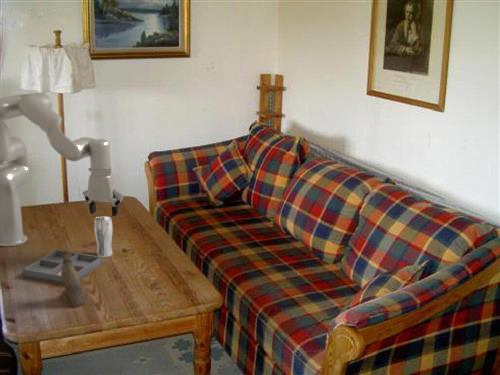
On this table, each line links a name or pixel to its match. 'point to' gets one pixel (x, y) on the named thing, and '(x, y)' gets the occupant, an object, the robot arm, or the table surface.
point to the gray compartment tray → (52, 266)
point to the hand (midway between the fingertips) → (104, 214)
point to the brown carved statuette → (71, 283)
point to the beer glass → (103, 235)
